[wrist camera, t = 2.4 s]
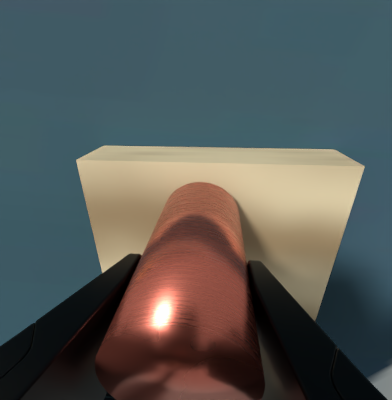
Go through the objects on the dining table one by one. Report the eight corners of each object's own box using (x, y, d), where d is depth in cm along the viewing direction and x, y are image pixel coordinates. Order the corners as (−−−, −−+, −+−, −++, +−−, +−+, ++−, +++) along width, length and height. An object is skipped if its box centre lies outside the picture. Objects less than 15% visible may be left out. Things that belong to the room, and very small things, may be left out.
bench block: (276, 379, 22) (294, 472, 17) (142, 366, 23) (119, 450, 18) (334, 149, 13) (416, 195, 7) (103, 145, 14) (30, 183, 9)
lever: (227, 405, 19) (232, 572, 12) (173, 399, 19) (149, 559, 13) (250, 181, 10) (301, 335, 4) (153, 179, 11) (57, 316, 4)
